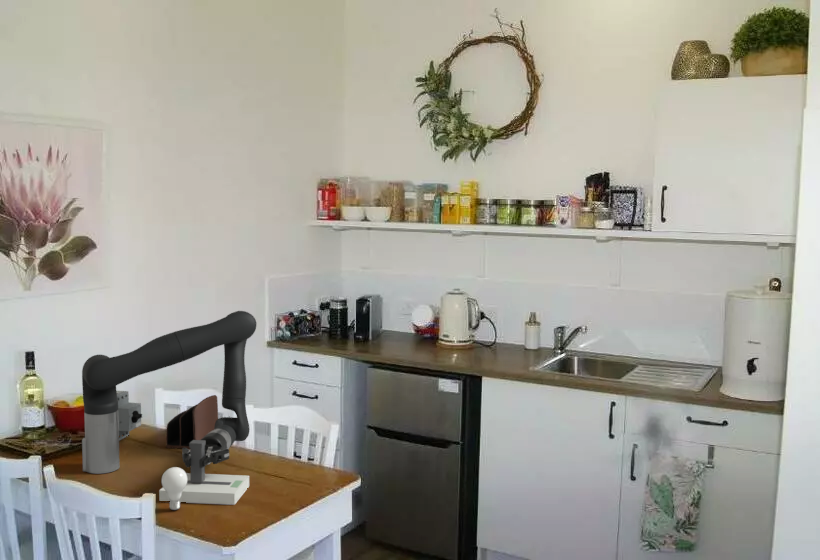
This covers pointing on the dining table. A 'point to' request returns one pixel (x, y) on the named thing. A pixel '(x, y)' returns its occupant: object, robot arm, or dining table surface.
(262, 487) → the dining table surface
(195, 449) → the handle
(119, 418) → the circuit breaker
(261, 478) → the dining table surface
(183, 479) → the lightbulb
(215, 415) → the letter holder
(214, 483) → the breaker panel
